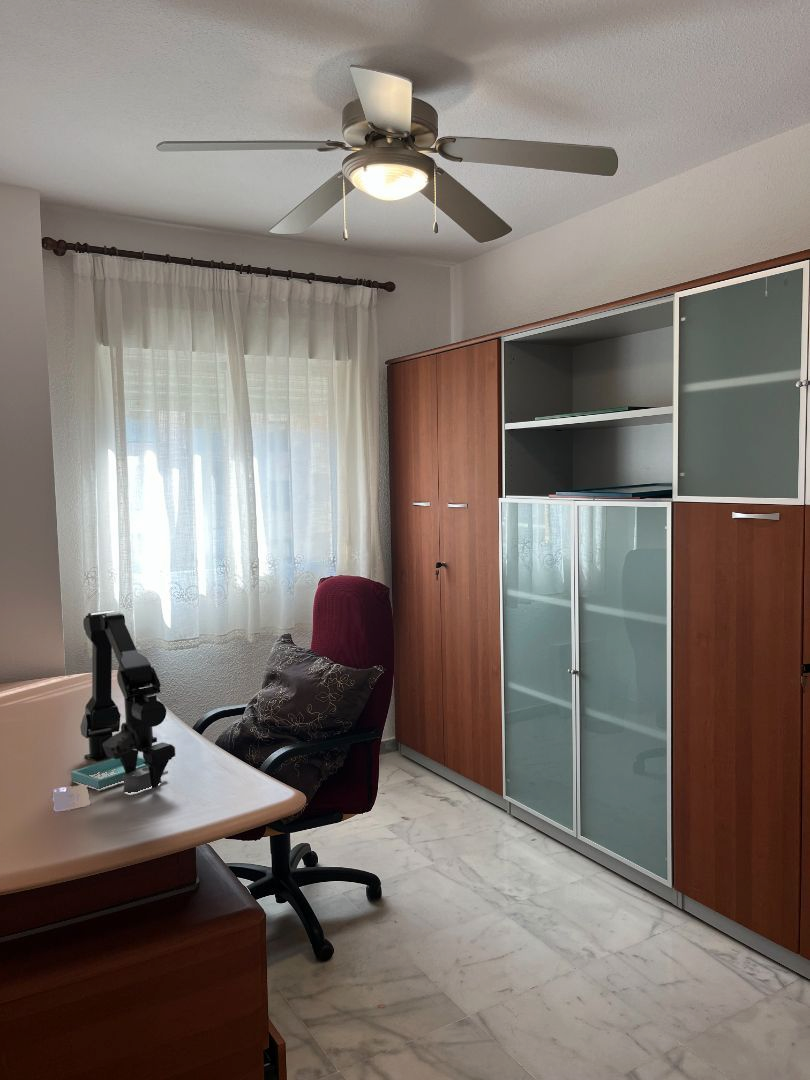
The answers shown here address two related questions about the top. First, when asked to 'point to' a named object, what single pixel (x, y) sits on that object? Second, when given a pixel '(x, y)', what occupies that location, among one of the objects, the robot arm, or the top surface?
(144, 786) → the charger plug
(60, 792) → the mobile phone
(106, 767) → the desk tray
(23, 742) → the top surface
